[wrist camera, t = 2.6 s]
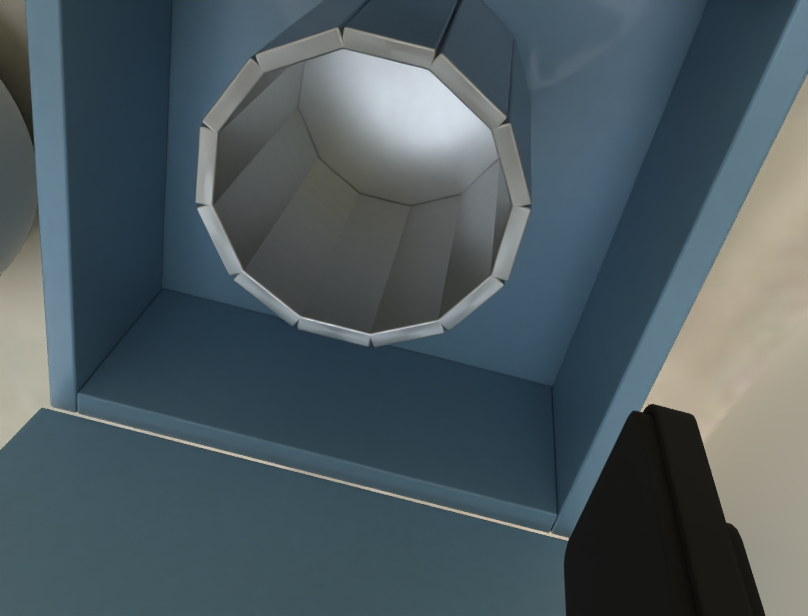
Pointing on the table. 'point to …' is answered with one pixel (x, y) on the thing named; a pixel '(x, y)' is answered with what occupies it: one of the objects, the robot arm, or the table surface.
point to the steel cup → (372, 168)
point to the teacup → (15, 180)
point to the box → (426, 357)
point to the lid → (239, 538)
